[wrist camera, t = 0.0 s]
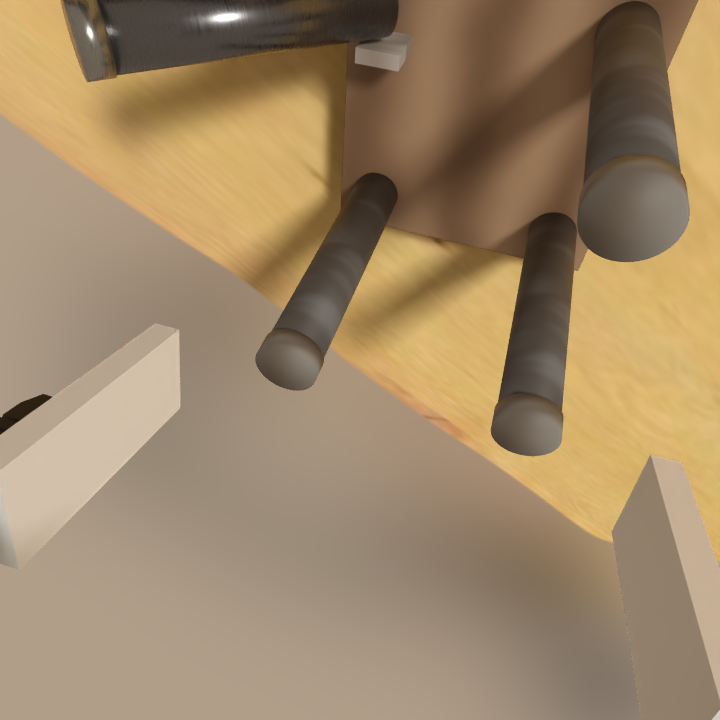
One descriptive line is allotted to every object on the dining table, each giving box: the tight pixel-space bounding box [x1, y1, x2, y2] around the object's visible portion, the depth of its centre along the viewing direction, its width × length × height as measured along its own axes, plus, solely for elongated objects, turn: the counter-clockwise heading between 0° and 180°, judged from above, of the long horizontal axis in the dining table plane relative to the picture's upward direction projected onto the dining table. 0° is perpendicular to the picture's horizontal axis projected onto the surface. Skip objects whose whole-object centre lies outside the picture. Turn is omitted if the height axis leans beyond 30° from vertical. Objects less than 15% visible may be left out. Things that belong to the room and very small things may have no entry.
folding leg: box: [61, 0, 399, 82], centre depth 27 cm, size 3×3×15 cm
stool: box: [256, 0, 698, 456], centre depth 30 cm, size 17×17×20 cm
